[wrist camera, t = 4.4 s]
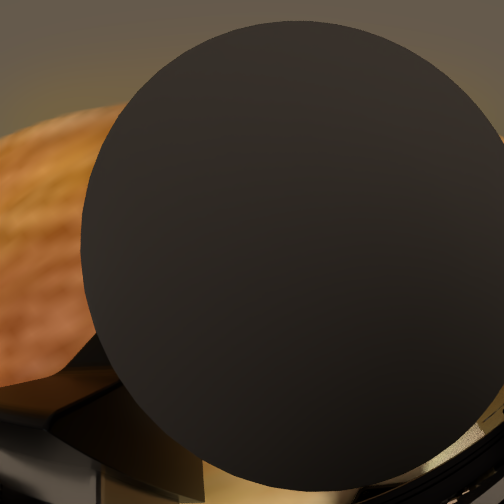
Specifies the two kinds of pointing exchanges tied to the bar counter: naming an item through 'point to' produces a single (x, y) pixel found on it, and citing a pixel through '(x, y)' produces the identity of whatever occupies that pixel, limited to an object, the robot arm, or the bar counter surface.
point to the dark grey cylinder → (301, 255)
